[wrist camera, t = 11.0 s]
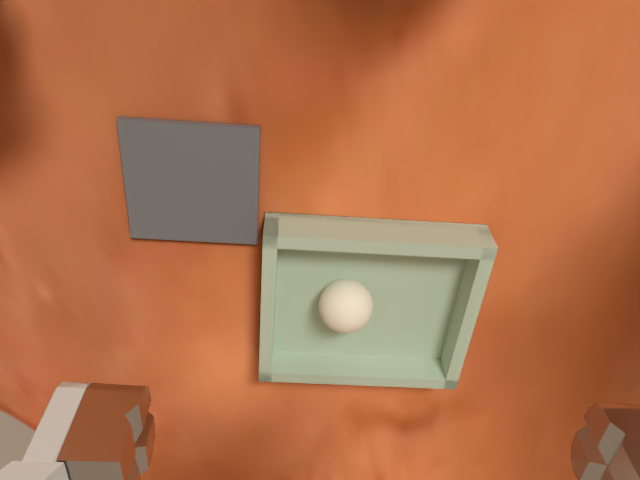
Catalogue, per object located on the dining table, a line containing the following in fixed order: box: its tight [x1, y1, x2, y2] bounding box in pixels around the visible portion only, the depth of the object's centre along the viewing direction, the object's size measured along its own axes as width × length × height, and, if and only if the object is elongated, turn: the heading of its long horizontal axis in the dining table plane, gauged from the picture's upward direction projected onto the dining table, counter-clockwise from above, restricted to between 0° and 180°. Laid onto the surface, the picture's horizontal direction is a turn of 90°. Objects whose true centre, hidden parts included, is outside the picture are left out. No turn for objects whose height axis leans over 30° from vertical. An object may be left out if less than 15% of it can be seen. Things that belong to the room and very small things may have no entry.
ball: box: [319, 279, 373, 333], centre depth 43 cm, size 4×4×4 cm
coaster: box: [117, 116, 260, 245], centre depth 40 cm, size 9×9×1 cm
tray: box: [259, 212, 498, 389], centre depth 45 cm, size 16×14×3 cm
